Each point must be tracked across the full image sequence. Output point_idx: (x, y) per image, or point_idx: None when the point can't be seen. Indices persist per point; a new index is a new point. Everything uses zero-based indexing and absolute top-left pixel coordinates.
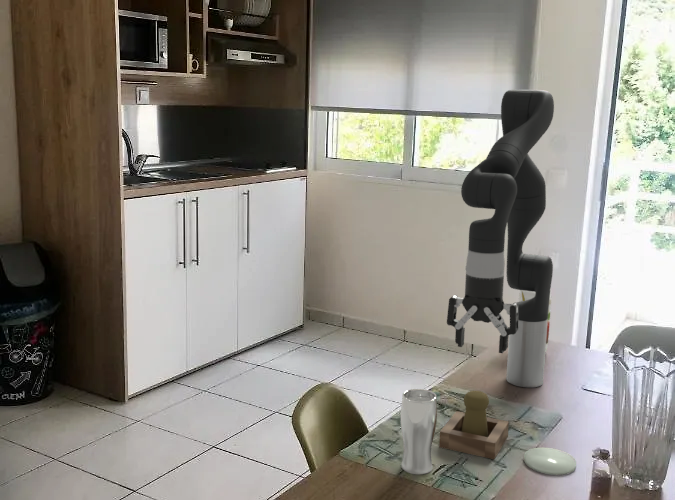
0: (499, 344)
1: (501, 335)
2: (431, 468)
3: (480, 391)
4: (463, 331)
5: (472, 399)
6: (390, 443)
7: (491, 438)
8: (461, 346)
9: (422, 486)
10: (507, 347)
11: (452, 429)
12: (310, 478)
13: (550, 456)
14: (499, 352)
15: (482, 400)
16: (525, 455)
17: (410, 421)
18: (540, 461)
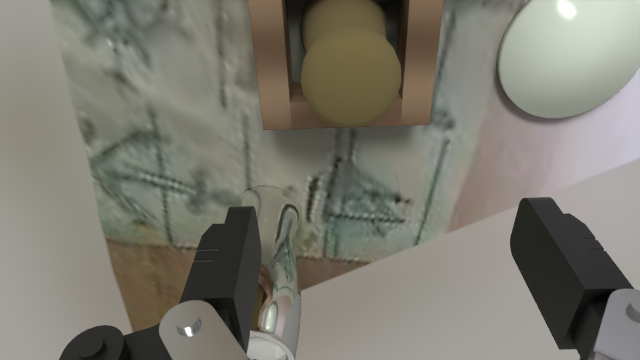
0: (533, 293)
1: (575, 340)
2: (300, 216)
3: (359, 55)
4: (242, 301)
5: (347, 127)
6: (154, 146)
7: (413, 101)
8: (260, 246)
9: (309, 264)
10: (580, 226)
11: (289, 98)
12: (128, 315)
13: (578, 35)
14: (514, 249)
15: (384, 113)
16: (504, 66)
17: (251, 342)
18: (546, 80)
